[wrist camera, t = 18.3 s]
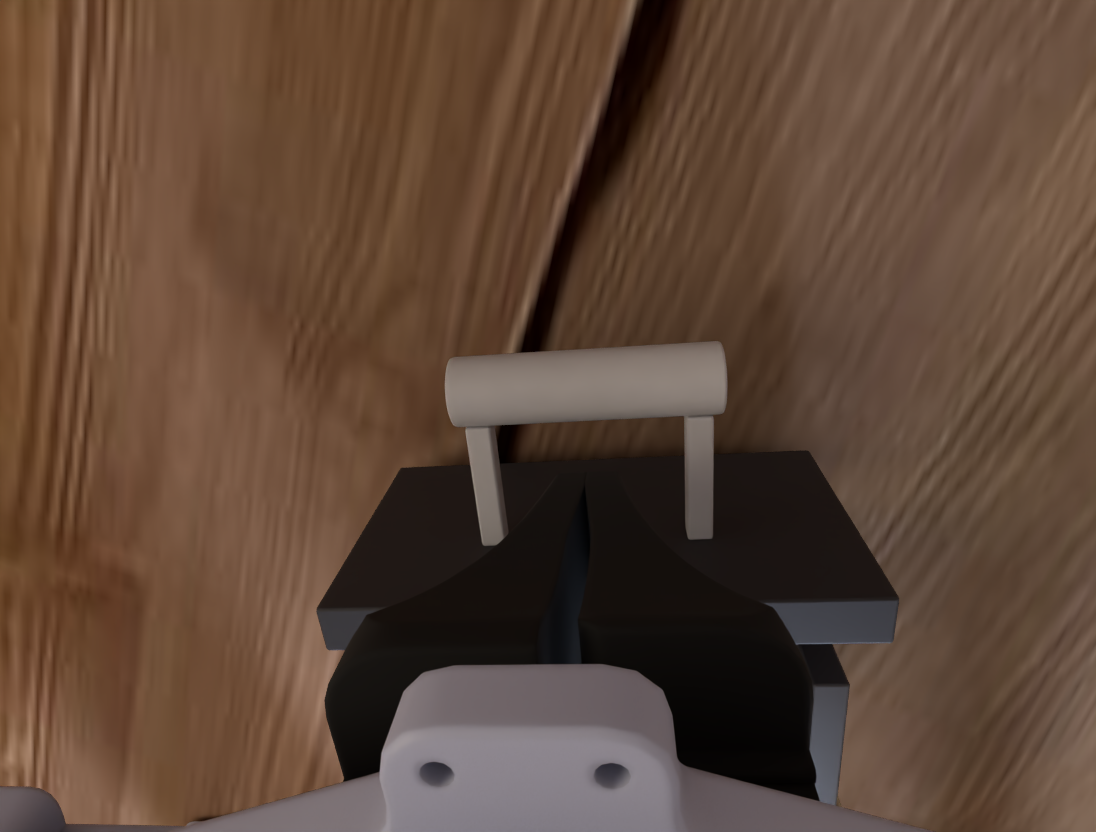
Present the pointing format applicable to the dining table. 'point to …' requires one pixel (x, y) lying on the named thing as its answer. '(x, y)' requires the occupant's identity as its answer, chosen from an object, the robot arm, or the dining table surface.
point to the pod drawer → (658, 492)
